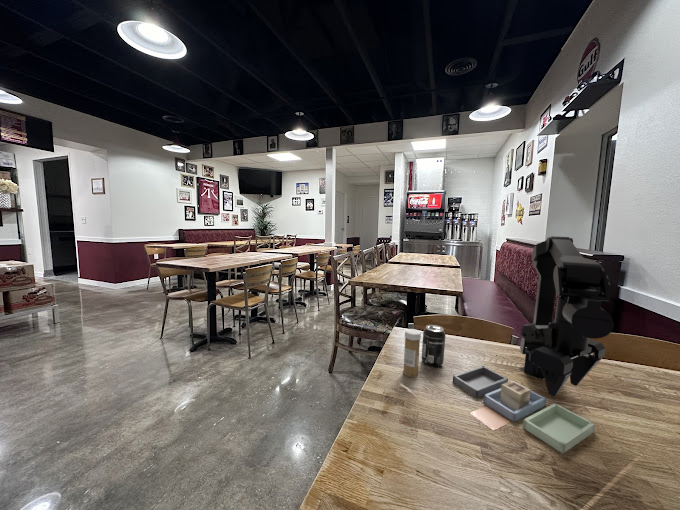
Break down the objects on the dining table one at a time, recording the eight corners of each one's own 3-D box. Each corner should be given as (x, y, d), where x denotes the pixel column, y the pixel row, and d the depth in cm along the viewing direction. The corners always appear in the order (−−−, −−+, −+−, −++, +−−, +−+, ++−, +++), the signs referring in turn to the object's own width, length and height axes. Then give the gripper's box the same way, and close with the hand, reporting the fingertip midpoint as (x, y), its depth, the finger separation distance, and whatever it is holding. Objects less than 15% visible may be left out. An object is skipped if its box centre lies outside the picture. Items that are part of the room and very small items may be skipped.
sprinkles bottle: (421, 375, 81) (424, 332, 80) (411, 379, 79) (413, 335, 77) (409, 368, 85) (412, 327, 83) (399, 372, 82) (401, 330, 81)
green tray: (553, 412, 66) (554, 403, 66) (593, 434, 59) (595, 423, 59) (522, 429, 60) (523, 419, 60) (562, 456, 53) (564, 444, 53)
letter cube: (510, 396, 71) (512, 380, 71) (528, 406, 67) (530, 389, 67) (499, 400, 69) (501, 384, 69) (518, 412, 65) (520, 394, 65)
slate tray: (514, 390, 75) (515, 382, 74) (545, 407, 68) (546, 398, 68) (483, 404, 69) (484, 394, 68) (513, 424, 62) (514, 414, 62)
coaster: (485, 408, 67) (485, 406, 67) (509, 424, 62) (510, 422, 62) (469, 415, 64) (469, 413, 64) (493, 433, 59) (493, 430, 59)
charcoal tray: (482, 373, 83) (483, 365, 83) (507, 387, 76) (508, 378, 76) (452, 384, 77) (453, 375, 77) (476, 399, 70) (477, 390, 70)
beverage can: (425, 355, 93) (427, 322, 92) (445, 362, 89) (448, 327, 88) (418, 363, 88) (420, 328, 86) (439, 370, 84) (442, 333, 82)
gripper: (552, 305, 68) (544, 363, 70) (507, 314, 60) (500, 380, 62) (611, 319, 58) (601, 387, 60) (567, 333, 50) (557, 411, 52)
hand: (563, 389), depth 59 cm, fingers open, 9 cm apart
